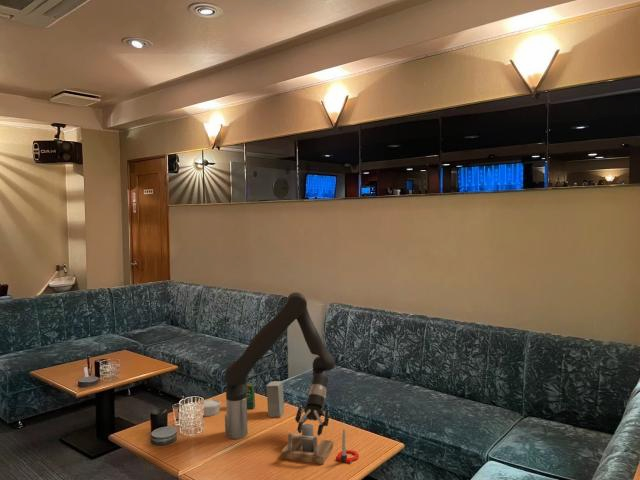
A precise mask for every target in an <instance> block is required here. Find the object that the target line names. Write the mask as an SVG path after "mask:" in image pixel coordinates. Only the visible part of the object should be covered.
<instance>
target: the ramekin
mask: <svg viewBox="0 0 640 480" xmlns="http://www.w3.org/2000/svg"><path fill="white" fill-rule="evenodd" d="M220 408H221V401H220V400H219V399H214V398H208V399H204V416H203V417H212V415H213V416H216V415H217V414H218V413H220Z"/></svg>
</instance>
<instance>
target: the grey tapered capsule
mask: <svg viewBox="0 0 640 480" xmlns="http://www.w3.org/2000/svg"><path fill="white" fill-rule="evenodd" d="M301 435H305V436H313V437H315V436H314V425H313V424H310V423H306V424H303V426H302V431H301ZM301 450H302V451H303V452H310V453H313V452H314V440H308V439H302V448H301Z"/></svg>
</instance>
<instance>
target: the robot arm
mask: <svg viewBox="0 0 640 480" xmlns="http://www.w3.org/2000/svg"><path fill="white" fill-rule="evenodd" d="M294 321H297V323H298V326H299V328H300V330H301V334H302V336H303V338H304V341H305V343H306V346H307V347H308V350H309V352H310V353H311V354H312V355H315V356H317V357H315V358H314V360H313V361H312V382H311V386H310V389H309V392H308V397H307V400H306V405H305V408H302V407H301V406H299V407H298V408H297V412H296V415H295V417H294V419H295V422H296V423H298V425H297V432H298V433H299V434H302V426H303V425H304V423H305V422H308V421H315V422H316V421H318V423H319V425H318V428H317V431H316V433H317V437H318V436H321V435H323V434H322V433H323V429H324V427H328V426H329V419H330V411H329V409H326V410H324V407H325V401H326V398H327V397H326V396H327V388H328V384H329V383H328V382H329V376H328V375H326V374H324V372H328V371H333V370H334V369H335V366H336V360H335V358H334V356H333V354H332V353H331V352H330V351H329V349H328V348H327V347H326V346H325V345H324V341H323V340H322V338H321V336H320V334H319V332H318V329H317V328H316V326H315V324H314V321H312V318H311V316H310V313H309V310H308V301H307V299H306V297H305V296H304V295H303V294H302V293H300V292H292V293H290V294H289V295H288V297H287V298H286V303H285V305H284V306H283V308H281V310H280V312H279V313H278V314H277V315H276V316H275V317H273V318H272V319H271V320H270V321H268V322H267V323H266V324H265V325H263V327H261V329H259V331H258V332H257V333H256V334H255V335H254V337H253V339H251V341H250V342H249V343H248V346H247V347H246V349H245V350H244V352H243V354H241V356H239V358H238V359H237V360H233V361H231V362H230V363H228V365H227V366H226V369H225V372H224V380H225V381H226V384H225V385H226V390H225V399H226V400H225V405H226V407H225V408H226V414H225V415H224V429H225V430H224V431H225V432H224V433H225V437H227V438H229V439H233V440H237V439H243V438H245V437H246V436H247V435H248V433H249V432H248V408H247V394H246V393H247V383H248V382H247V381H248V380H247V379H248V378H247V376H248V375H249V374H250V372H251V371H252V370H253V368H254V367H255V365H256V364H257V363H258V362H259V361H260V360H261V359H262V358H264V356H266V354H267V353H268V352H269V351H270V350H271V349H272V348H273V346H275V345H276V344H277V342H278V341H279V340H280V338H281V337H282V336H283V335H284V333H286V331H287V330H288V328H289V326H291V324H292V323H294ZM322 416H324V419H323V421H322V419H321V417H322Z"/></svg>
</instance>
